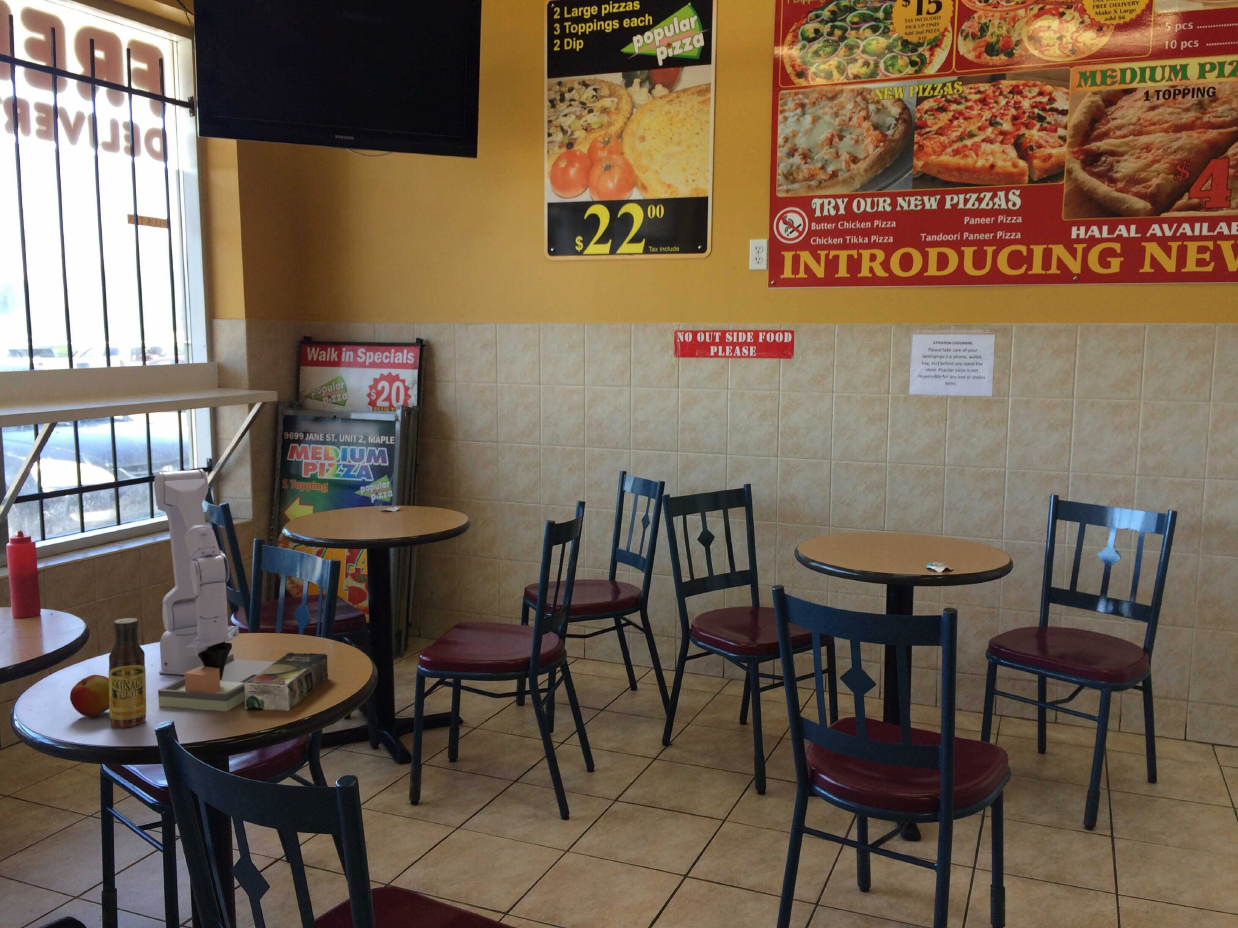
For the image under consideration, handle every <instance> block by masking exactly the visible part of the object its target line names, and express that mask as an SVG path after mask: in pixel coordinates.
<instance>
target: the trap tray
mask: <svg viewBox="0 0 1238 928" xmlns="http://www.w3.org/2000/svg"><path fill="white" fill-rule="evenodd" d="M275 662H276V661H268V660H267V661H266V660H252V659H240V658H239V659H238V658H234V653H229V654H228V657H227V659H226V663H225V667H224V672H223V676H222V680H220V691H217V692H215V693H206V692H193V691H186V689H185V676H183V677H181V678H179V679H177V680H176V681H173V682H171V683H170V684H167V685H166V686H163V687H162V688H160V689H158V690H157V694H158V695H157V697H158V698H157V699H158V707H166V708H167V707H168V708H179V709H192V710H193V709H194V710H202V711H203V710H204V711H205V710H206V711H216V712H229V711H230V710H232V709H234V708H235V707H236V706H238V705H240V704H241V703H243V702H245V688H244V684H245V683H246V682H248V681H249V680H251V679H252V678H254V677H255V676H256V675H258V674H260V673H261V672H262V671H264V670H265V669H267V668H268V667H269V666H271V665H272V664H273V663H275Z"/></svg>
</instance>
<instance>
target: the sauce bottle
mask: <svg viewBox="0 0 1238 928" xmlns="http://www.w3.org/2000/svg"><path fill="white" fill-rule="evenodd" d="M138 627H139V619H138V618H133V617H126V618H118V619H116V620H114V622H113V629H114V633H115V641H114V643H115V644H114V645H113V648H112V649H111V651H110V653H109V655H108V662H109V663H108V664H109V666H108V678H109V709H108V710H109V711H108V713H109V718H110V720H109V721H110V722H109V723H110V725H111V726H112V727H113V728H118V729H119V728H120V729H121V728H123V729H124V728H126V729H127V728H131V727H136V726H139V725H141V724H143V723H144V722H145V721H146V718H147V688H146V687H147V682H146V681H147V680H146V679H147V678H146V676H147V675H146V674H147V673H146V672H147V671H146V666H145V663H146V661H145V660H146V659H145V657H146V656H145V654H146V653H145V651H144V649H143V648H142V646H141V645H140V644H139V638H138Z"/></svg>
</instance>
